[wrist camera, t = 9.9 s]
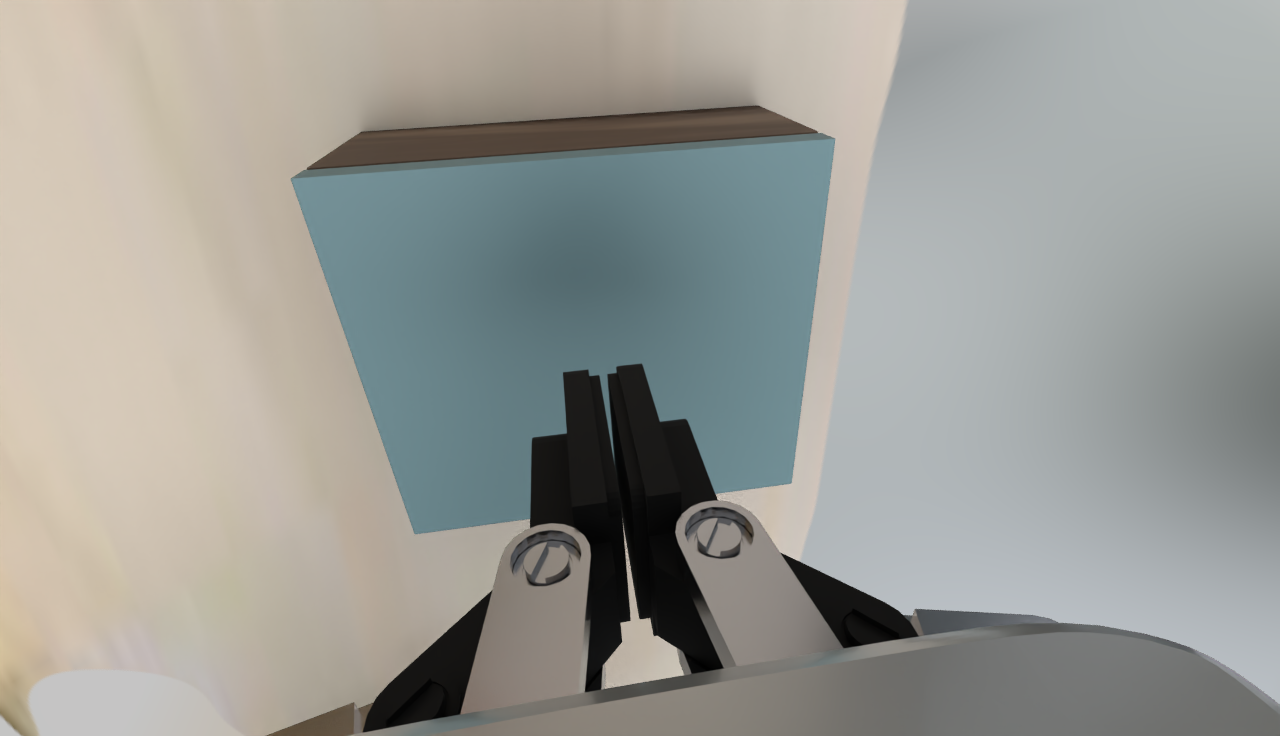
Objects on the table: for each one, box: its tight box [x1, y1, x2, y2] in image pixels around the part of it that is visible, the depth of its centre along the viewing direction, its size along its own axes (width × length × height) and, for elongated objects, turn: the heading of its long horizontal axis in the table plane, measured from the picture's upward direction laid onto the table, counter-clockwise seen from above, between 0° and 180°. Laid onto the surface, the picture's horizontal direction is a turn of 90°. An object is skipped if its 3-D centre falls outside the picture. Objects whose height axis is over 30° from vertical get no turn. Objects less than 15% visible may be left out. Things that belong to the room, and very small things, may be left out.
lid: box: [291, 133, 835, 534], centre depth 24 cm, size 16×18×1 cm
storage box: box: [307, 106, 818, 170], centre depth 28 cm, size 16×18×7 cm
